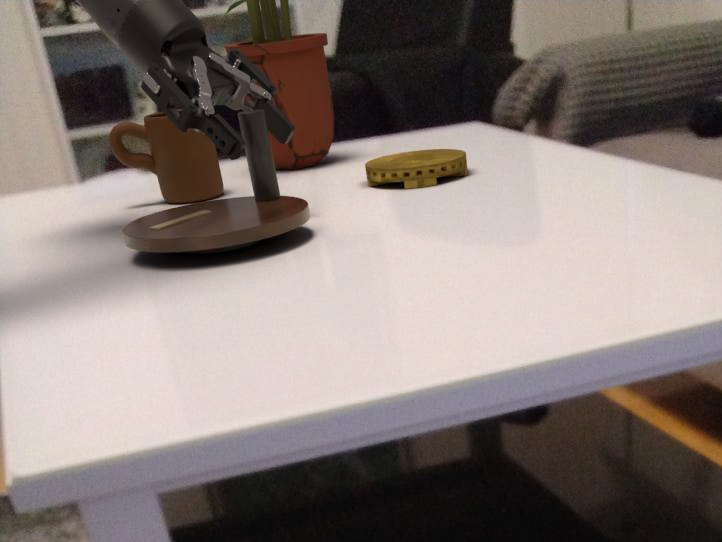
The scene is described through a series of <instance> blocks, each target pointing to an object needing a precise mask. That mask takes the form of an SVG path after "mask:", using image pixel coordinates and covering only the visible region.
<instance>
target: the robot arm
mask: <svg viewBox="0 0 722 542" xmlns="http://www.w3.org/2000/svg"><path fill="white" fill-rule="evenodd" d="M74 1H75V2H76V3H77V4H78V5H79V6H80V7H81V8H82V9H83V10H84V11H85V12H86V13H87V14H88V15H89V16H90V18H91V19H92V20H93V22H94V23H95V24H96V26H97V27H98V28H99V30H100V31H101V32H102V33H103V34H104V35H105V36H106V37H107V38H108V40H110V41H111V43H112V44H114V45H115V46H116V47H117V48H118V49H119V51H121V52H122V53H123V54H124V56H125V57H126V58H127V59H128V60H129V61H130V62H131V63H132V64H133V65H134V66H135V67H136V68H137V69H138V70H139V71H140V72H141V73H142V75H144V77H143V79H142V81H141V84H140V88H141V90H142V91H143V92H144V94H146V95H147V97H149V99H150V100H151V101H152V102H153V103H154V104H155V105H156V106H157V108H158V109H160V110H161V112H163V113H164V114H165V115H166V116H167V117H168V118H169V119H170V120H171V121H172V122H173V124H174V125H175V126H176V127H177V128H178V129H179V130H181V131H182V132H188V130H189V128H192V129H194V130H195V131H196V132H198V133H200V134H205V135H206V136H207V137H208V138H209V139H210V140H211V141H212V142H213V143H214V144H215V147H217V148H218V149H219V151H220V152H221V153H223V154H224V155H225V156H226V157H227V158H228V159H229V160H231V161H236V160H238V159H240V157H241V156H242V154H243V152H244V151H245V141H244V140H243V138H242V135H240V134H239V133H238V132H237V131H236V130H235V129H234V128H233V127H232V126H231V125H230V123H228V122H227V121H226V120H225V119H224V118H223V116H221V115H220V114H219V113H216V112H215V108H214V107H215V106H226V107H227V108H230V109H232V110H233V111H239V110H242V111H243V110H245V111H248V110H258V109H262V110H264V113H265V118H266V123H267V128H268V131H269V132H270V133H271V134H272V135H273V136H274V137H275V138H276V139H277V140H278V141H279V142H280V143H281V144H285V143H288V142H289V141H290V139H291V137H292V135H293V133H294V132H295V126H294V125H293V124H292V123H291V121H290V120H289V119H288V118H287V117H286V116H285V115H284V114H283V113H282V112H281V111H280V110H279V109H278V108H277V107H276V106H275V105H274V104H273V102H272V99H273V97H274V95H275V93H276V91H277V88H276V86H275V85H274V84H273V83H272V82H271V81H270V80H269V79H268V78H267V77H266V76H265V75H264V74H263V73H262V72H261V71H260V70H259V69H258V68H257V67H256V66H255V65H253V64H252V63H251V62H250V61H249V60H248V59H247V58H246V57H245V56H244V55H243V54H242V53H241V52H240V51H239V50H238V49H237V48H234V47H231V49H230V51H229V53H228V54H227V53H226V55H221V54H220V53H218V52H217V51H215V50H214V49H213V48H211V47H210V45H209V44H208V41H207V35H206V27H205V25H204V23H203V22H202V21H201V20H200V18H199V17H198V16H197V15H196V14H194V12H193V11H192V10H191V9H190V8H189V7H188V6H187V5H186V4H185V3H184V1H183V0H74ZM256 81H257V82H258V83H259V84H260V85H261V86H262V87H263V88H261V87H259V86H257V85H256V84H255V82H256ZM235 85H236V87H237V89H236V91H235V93H234V94H232V93H233V92H234V89H235ZM246 95H247V96H248V97H249V98H250V99H251V100H252V101H253V102H254V104H253V103H251V102H250V101H248V100H246V99H244V98H245V96H246ZM177 104H178V105H179V106H180V107H181V109H182V112H181V114H180V113H179V112H178V111H177V108H176V105H177ZM215 113H216V114H215Z"/></svg>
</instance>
